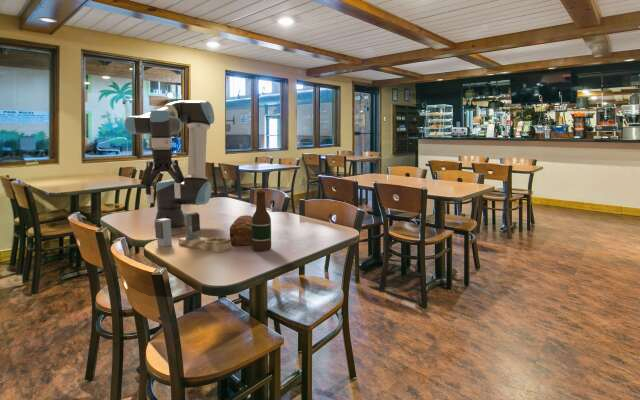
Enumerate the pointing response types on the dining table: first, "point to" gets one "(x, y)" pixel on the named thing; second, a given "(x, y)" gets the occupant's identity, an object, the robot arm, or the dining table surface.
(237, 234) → the bread
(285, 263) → the dining table surface
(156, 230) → the block
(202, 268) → the dining table surface
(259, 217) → the beer bottle
